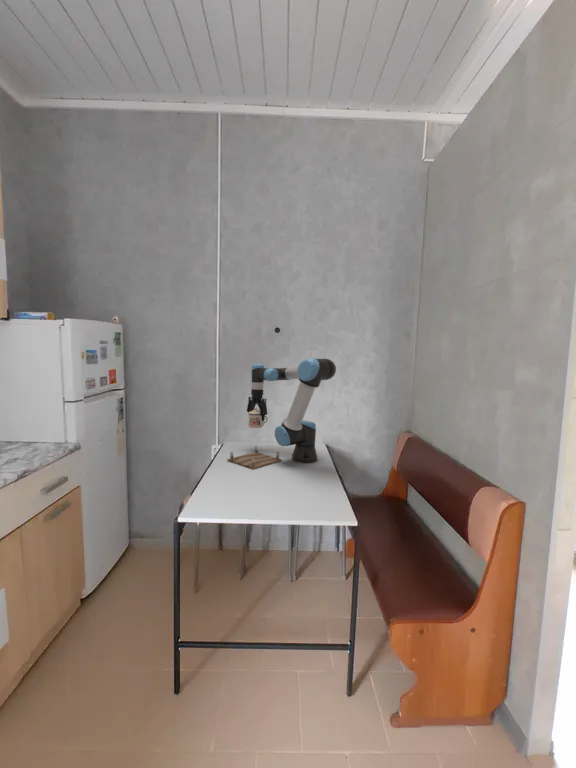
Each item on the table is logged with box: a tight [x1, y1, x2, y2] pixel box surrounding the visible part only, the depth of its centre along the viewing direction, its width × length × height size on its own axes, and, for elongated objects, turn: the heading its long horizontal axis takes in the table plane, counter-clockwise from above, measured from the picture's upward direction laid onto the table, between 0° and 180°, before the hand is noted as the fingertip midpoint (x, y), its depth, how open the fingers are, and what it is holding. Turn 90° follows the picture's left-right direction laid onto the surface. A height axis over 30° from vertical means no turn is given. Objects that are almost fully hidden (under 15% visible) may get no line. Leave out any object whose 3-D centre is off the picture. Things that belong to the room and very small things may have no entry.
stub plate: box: [226, 446, 283, 471], centre depth 225 cm, size 21×23×5 cm
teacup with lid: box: [247, 407, 268, 429], centre depth 244 cm, size 12×9×12 cm
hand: (256, 424), depth 245 cm, fingers closed on teacup with lid, 9 cm apart
